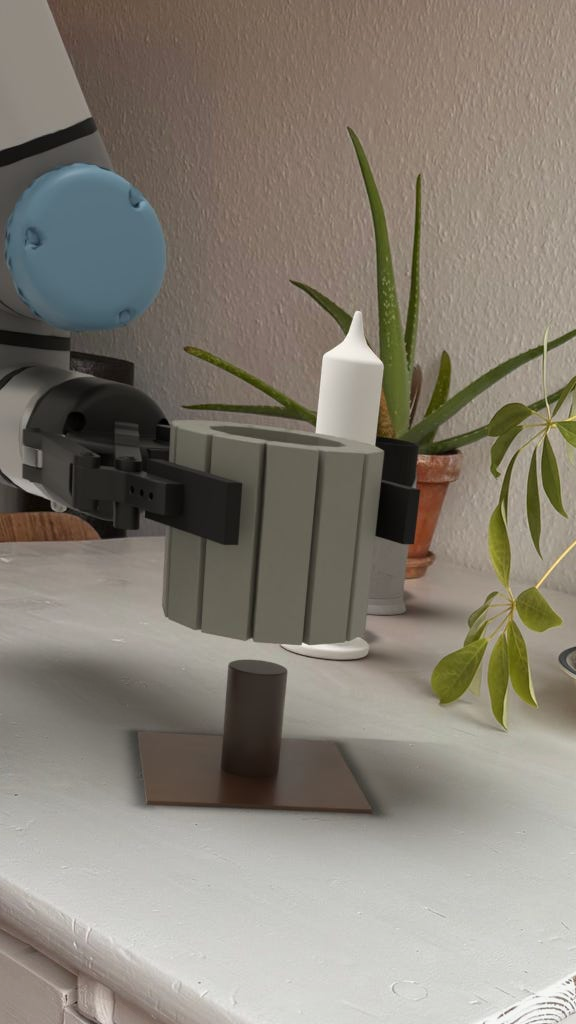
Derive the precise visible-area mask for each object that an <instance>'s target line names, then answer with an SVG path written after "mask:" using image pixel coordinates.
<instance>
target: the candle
mask: <svg viewBox="0 0 576 1024" xmlns="http://www.w3.org/2000/svg"><path fill="white" fill-rule="evenodd" d="M384 369H385V366H384V363H383V361H382V360H381V359H380V358H379V357H378V356H377V355H376V354H375V352H374V351H373V349H371V348H370V346H369V345H368V343H367V339H366V336H365V330H364V320H363V313H362V311H360V310H355V312H354V314H353V318H352V320H351V324H350V327H349V329H348V333H347V335H346V336H345V337H344V339H343V341H341V342H340V343H339V344H338V345H336V346H335V347H333V348H332V349H330V350H329V351H327V352H326V353H324V354H323V356H322V362H321V371H320V382H319V391H318V403H317V413H316V424H315V433H318V434H324V435H330V436H335V437H339V438H345V439H350V440H354V441H358V442H363V443H367V444H370V445H374V446H375V442H376V436H377V431H378V423H379V415H380V414H379V413H380V406H381V396H382V387H383V378H384V371H385V370H384ZM279 645H280V646H281V647H282V648H283V649H285V650H287V651H289V652H292V653H295V654H299V655H302V656H306V657H312V658H318V659H326V660H337V661H338V660H339V661H341V660H342V661H343V660H344V661H346V660H358V659H362V658H364V657H366V656H367V655H368V654H369V649H370V645H369V643H368V642H367V641H366V640H364V638H363V639H362V638H361V637H360V636H359V637H357V638H355V639H353V640H351V641H345V642H344V643H333V644H321V645H307V644H305V643H302V645H288V644H279Z"/></svg>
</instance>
